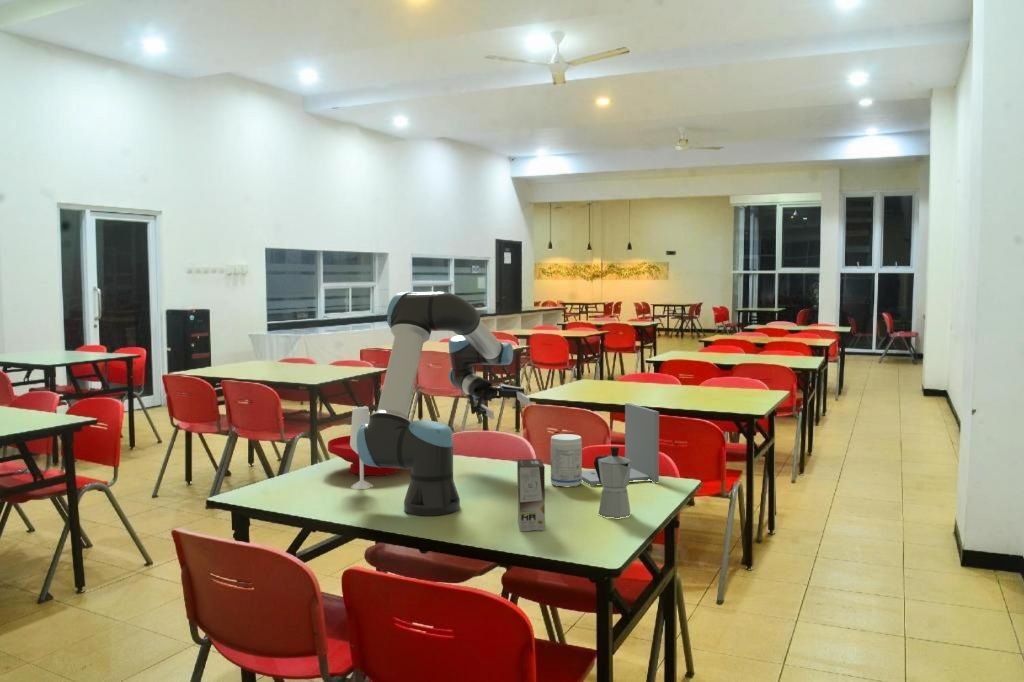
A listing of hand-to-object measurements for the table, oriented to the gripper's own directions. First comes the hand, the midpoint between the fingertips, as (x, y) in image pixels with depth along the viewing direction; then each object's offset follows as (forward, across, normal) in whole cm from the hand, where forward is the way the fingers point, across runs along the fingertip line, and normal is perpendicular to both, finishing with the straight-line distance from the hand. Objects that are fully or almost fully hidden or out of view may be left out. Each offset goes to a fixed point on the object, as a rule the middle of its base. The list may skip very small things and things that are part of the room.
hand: (511, 408), depth 247 cm
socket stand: (+24, -20, -23) cm, 39 cm away
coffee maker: (+54, +4, -10) cm, 55 cm away
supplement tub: (+22, -4, -19) cm, 30 cm away
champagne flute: (-10, +49, -13) cm, 52 cm away
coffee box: (+51, +27, -5) cm, 58 cm away
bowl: (-28, +38, -20) cm, 51 cm away
